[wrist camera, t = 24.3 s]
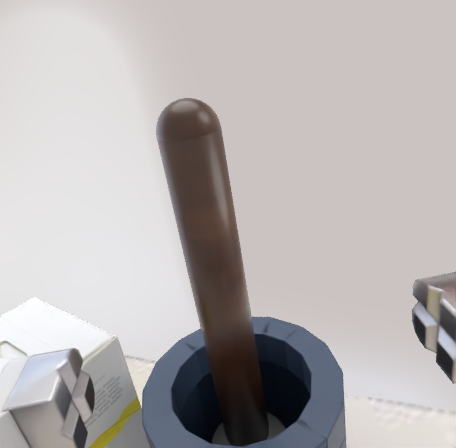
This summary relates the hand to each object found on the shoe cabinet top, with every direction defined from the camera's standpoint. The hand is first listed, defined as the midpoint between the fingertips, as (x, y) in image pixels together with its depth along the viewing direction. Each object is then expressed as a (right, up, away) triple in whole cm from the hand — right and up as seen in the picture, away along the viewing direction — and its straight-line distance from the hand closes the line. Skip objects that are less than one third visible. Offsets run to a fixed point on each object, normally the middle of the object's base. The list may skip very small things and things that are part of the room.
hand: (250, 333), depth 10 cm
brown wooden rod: (+1, -13, +13) cm, 18 cm away
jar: (+2, -14, +13) cm, 19 cm away
